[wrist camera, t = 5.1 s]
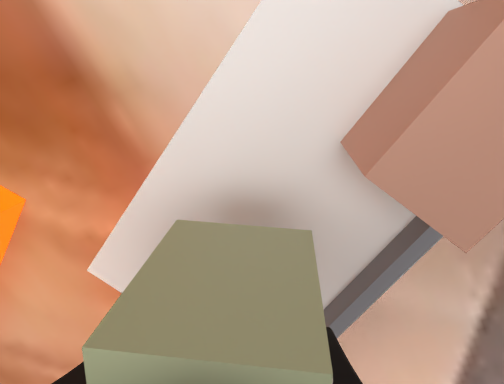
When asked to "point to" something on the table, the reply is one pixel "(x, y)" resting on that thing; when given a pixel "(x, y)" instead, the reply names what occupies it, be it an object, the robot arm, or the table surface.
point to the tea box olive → (217, 312)
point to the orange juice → (8, 216)
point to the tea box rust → (443, 127)
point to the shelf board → (291, 148)
